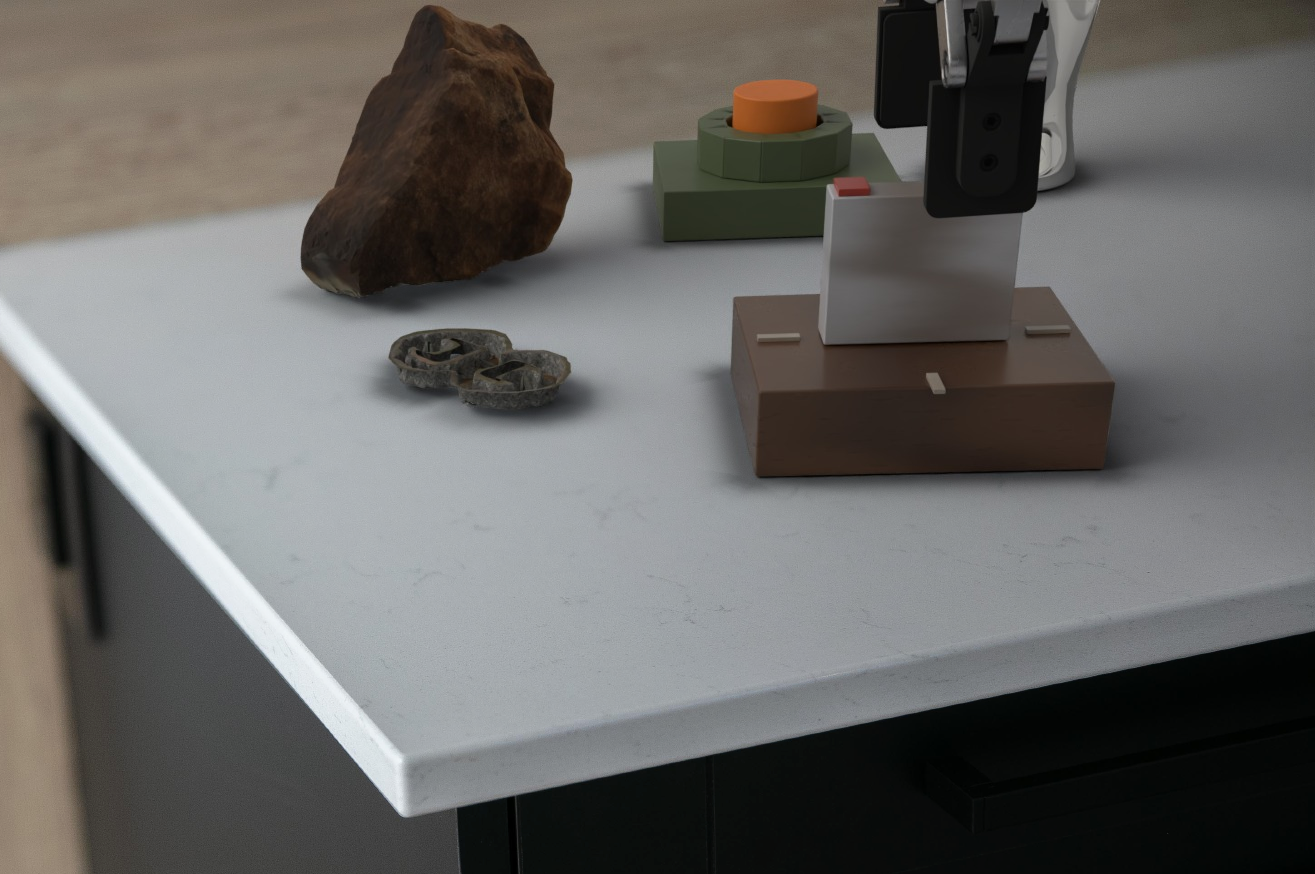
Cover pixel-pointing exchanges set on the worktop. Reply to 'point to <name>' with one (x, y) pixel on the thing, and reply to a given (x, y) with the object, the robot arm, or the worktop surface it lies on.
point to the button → (775, 106)
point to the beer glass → (1062, 86)
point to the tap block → (918, 395)
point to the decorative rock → (443, 165)
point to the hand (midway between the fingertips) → (948, 165)
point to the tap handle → (912, 268)
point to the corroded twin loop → (479, 367)
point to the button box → (759, 177)
